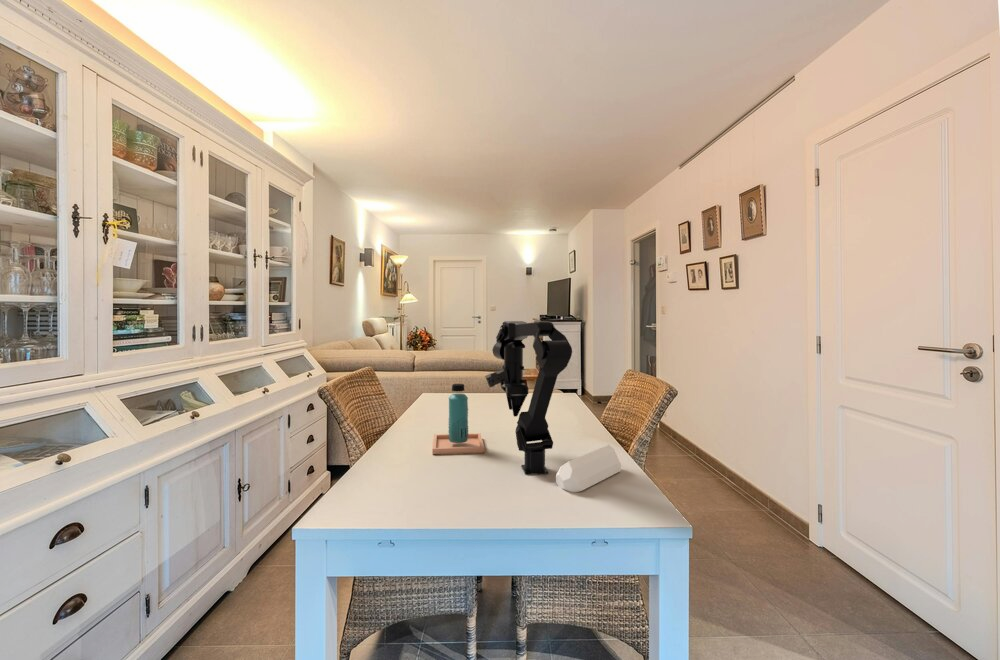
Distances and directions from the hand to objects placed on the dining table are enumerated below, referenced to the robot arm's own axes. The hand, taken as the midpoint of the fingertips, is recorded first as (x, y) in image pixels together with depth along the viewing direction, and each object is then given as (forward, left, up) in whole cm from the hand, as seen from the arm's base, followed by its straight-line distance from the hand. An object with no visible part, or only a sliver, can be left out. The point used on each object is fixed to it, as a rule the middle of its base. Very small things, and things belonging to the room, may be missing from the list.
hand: (513, 412), depth 135 cm
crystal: (-21, -17, -14) cm, 31 cm away
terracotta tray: (+10, +17, -13) cm, 24 cm away
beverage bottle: (+10, +17, -13) cm, 23 cm away
